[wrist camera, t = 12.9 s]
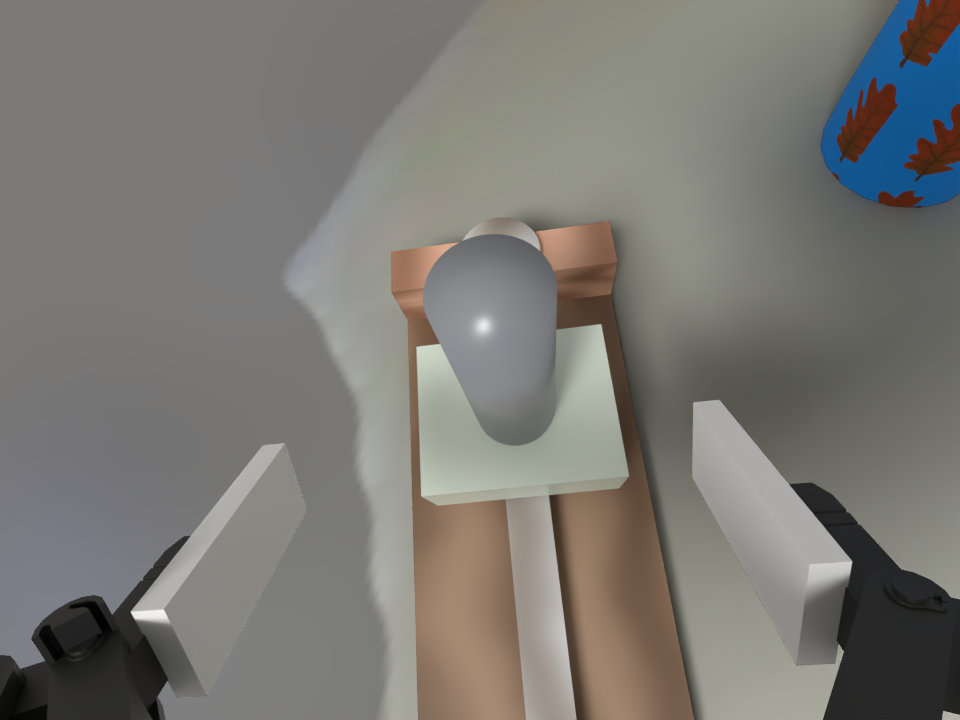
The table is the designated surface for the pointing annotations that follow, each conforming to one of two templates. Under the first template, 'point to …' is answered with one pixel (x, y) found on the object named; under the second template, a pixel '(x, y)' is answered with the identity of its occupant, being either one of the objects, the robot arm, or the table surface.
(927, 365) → the table surface
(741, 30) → the table surface
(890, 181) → the thermos
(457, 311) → the carriage
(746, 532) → the robot arm
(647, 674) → the rail board
